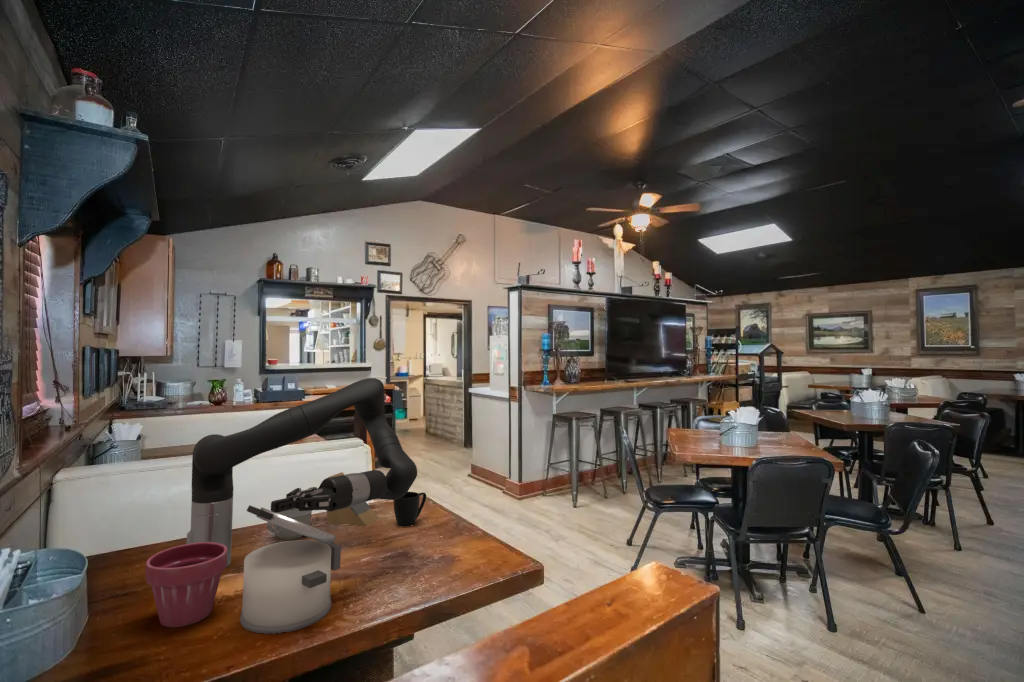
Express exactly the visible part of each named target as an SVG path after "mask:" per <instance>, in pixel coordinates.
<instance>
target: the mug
mask: <svg viewBox="0 0 1024 682" xmlns="http://www.w3.org/2000/svg"><path fill="white" fill-rule="evenodd" d="M420 496H422V500H421V503H420ZM426 501H427V494H426V492H423V491H422V492H415V491H408V492H407V493H406V494H405V495H404V496H403V497H401V498H399V499H396V500H393V511H394V517H395V520H396V523H397V526H398V525H399V526H398V527H400V526H410V527H412V526H411V525H413V526H414V525H415V524H416V521H417V519H418V518H419V516H420V514H421V513H422V510H423V508H424V505H425V502H426Z"/></svg>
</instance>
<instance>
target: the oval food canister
mask: <svg viewBox="0 0 1024 682" xmlns="http://www.w3.org/2000/svg"><path fill="white" fill-rule="evenodd" d="M341 549H342V546H341V544H340V545H339V544H338V543H335V542H334V543H333V545H330V544H326V543H323V542H321V541H318V540H315V539H293V540H286V541H285V540H284V541H280V542H275V543H270V544H267V545H264V546H261V547H259V548H256V549H254V550H253V551H251V552H249V553H248V554H247V555H246V556H245V557H244V558H243V559H244V560H243V582H242V583H243V584H242V586H243V587H242V588H243V589H242V609H241V612H240V621H239V622H240V625H241V626H242V628H244V629H245V630H246V629H247V631H248V630H249V632H251V631H252V633H255V632H256V633H255V634H260V633H264V634H263V635H277V634H276V633H278V634H283V633H282V632H286V633H291V632H295V631H297V630H302V629H304V628H307V627H309V626H311V625H314V624H315V623H318V622H319V621H320V620H322V619H324V618H325V617H326V616H327V614H328V613H330V610H331V608H332V597H331V576H332V575H331V573H332V572H331V570H332V571H337V570H339V569H341V553H342V550H341ZM271 633H272V634H271Z"/></svg>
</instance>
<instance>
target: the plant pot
mask: <svg viewBox="0 0 1024 682" xmlns="http://www.w3.org/2000/svg"><path fill="white" fill-rule="evenodd" d="M226 566H227V547H226V546H225V545H223V544H220V543H214V542H199V543H190V544H187V543H184V544H180V545H176V546H172V547H168V548H166V549H163V550H161V551H158V552H157V553H155V554H153V555H151V556H150V557H149V558H148V559H147V561H146V563H145V582H146V584H147V585H149V586H151V590H152V593H153V598H154V604H155V607H156V611H157V614H158V615H157V616H158V618H159V623H160V624H161V625H162V626H163V627H167V628H179V627H185V626H188V625H193V624H195V623H198V622H201V621H202V620H204V619H206V618H207V617H209V615H210V614H212V611H213V606H214V603H215V600H216V595H217V591H218V588H219V583H220V580H221V577H222V572H223V571H224V570H226V568H227V567H228V566H227V567H226Z"/></svg>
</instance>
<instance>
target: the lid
mask: <svg viewBox="0 0 1024 682" xmlns="http://www.w3.org/2000/svg"><path fill="white" fill-rule="evenodd" d="M246 512H247V513H249V514H253V515H255V517H257V518H258V519H261V520H263V521H264V522H270V523H272V525H273V524H275V525H277V526H280V527H283V528H285V529H288V530H291V531H293V532H296V533H299V534H301V535H303V537H306V538H309V539H311V540H314V541H321V542H323V543H326V544H330V545H333V543H335V540H336V538H337V535H336V534H332V533H331V532H328V531H325V530H323V529H321V528H318V527H314V526H312V525H311V524H310V525H307V524H305V523H302V522H299V521H297V520H294V519H292V518H289V517H286V516H284V515H281V514H278V513H275V512H272V511H271V509H267V508H265V507H260V508H258V507H256V506H253V505H248V507H247V509H246Z"/></svg>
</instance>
